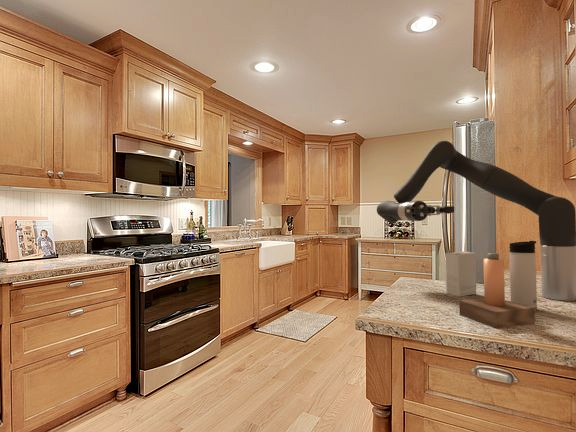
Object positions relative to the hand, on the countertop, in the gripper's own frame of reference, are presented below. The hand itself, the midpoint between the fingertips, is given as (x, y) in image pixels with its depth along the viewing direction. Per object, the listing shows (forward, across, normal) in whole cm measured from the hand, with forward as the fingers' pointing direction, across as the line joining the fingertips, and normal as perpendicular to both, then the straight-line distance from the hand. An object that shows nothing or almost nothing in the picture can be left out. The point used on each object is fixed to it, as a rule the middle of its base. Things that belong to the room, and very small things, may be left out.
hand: (442, 209), depth 108 cm
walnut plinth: (+21, -2, +30) cm, 37 cm away
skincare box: (-5, +11, +30) cm, 33 cm away
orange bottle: (+21, -2, +26) cm, 33 cm away
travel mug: (+16, +14, +30) cm, 37 cm away
